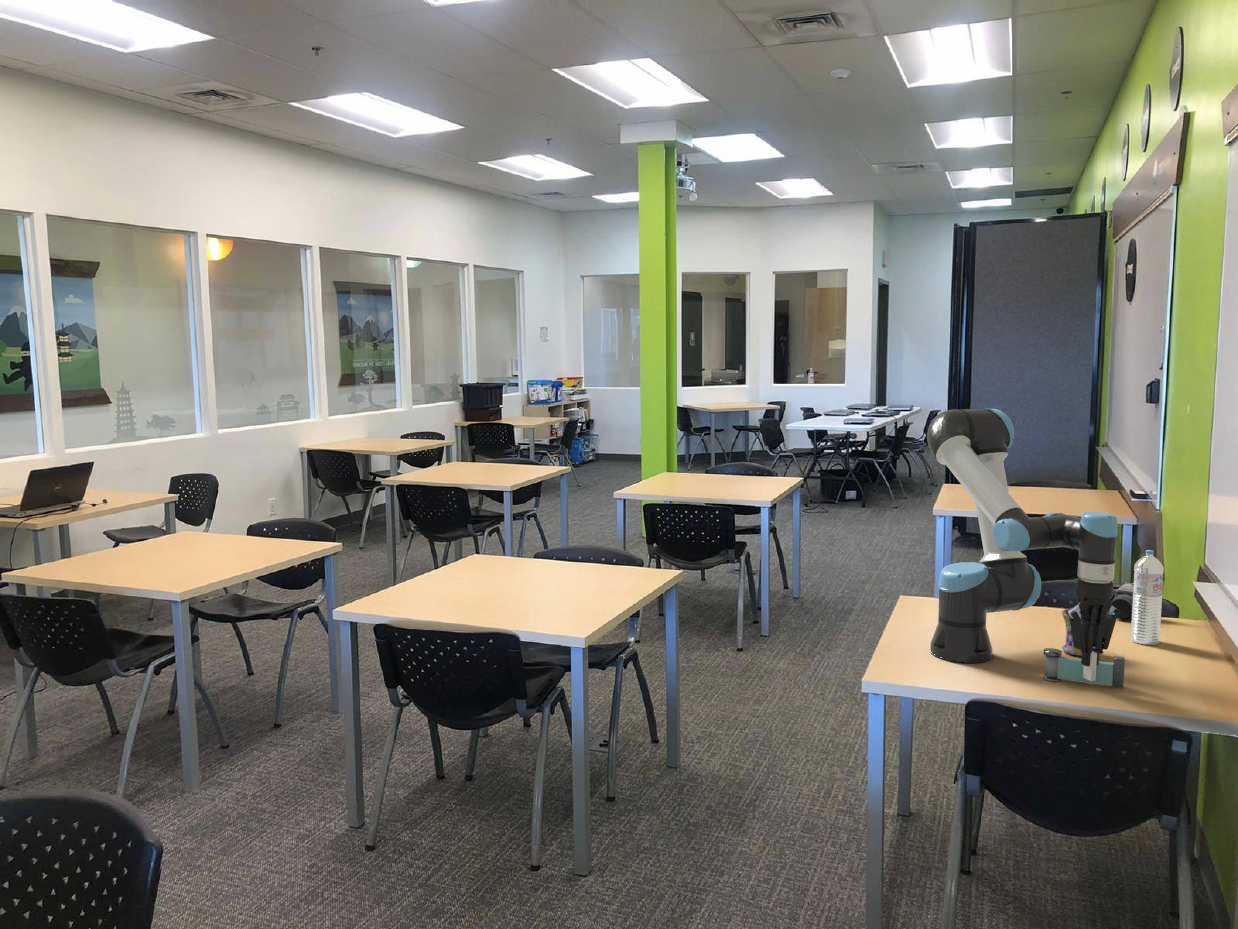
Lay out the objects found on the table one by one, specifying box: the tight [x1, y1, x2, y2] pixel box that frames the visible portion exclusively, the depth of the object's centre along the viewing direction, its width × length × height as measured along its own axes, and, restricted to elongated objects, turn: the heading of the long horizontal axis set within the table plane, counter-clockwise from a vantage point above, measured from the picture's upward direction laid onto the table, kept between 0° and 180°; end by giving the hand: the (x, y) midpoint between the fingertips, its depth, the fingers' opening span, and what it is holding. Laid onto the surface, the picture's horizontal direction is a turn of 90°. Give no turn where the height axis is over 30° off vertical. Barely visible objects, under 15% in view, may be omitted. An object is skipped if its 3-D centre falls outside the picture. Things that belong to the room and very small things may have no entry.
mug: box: [1061, 608, 1082, 657], centre depth 242 cm, size 12×9×11 cm
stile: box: [1108, 655, 1126, 689], centre depth 217 cm, size 3×3×7 cm
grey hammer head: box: [1042, 647, 1063, 683], centre depth 222 cm, size 4×4×7 cm
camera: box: [1111, 581, 1134, 620], centre depth 272 cm, size 16×10×10 cm, turn 48°
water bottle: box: [1130, 549, 1165, 646], centre depth 248 cm, size 7×7×25 cm
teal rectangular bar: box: [1044, 655, 1114, 687], centre depth 219 cm, size 14×3×5 cm, turn 63°
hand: (1089, 679), depth 216 cm, fingers closed
